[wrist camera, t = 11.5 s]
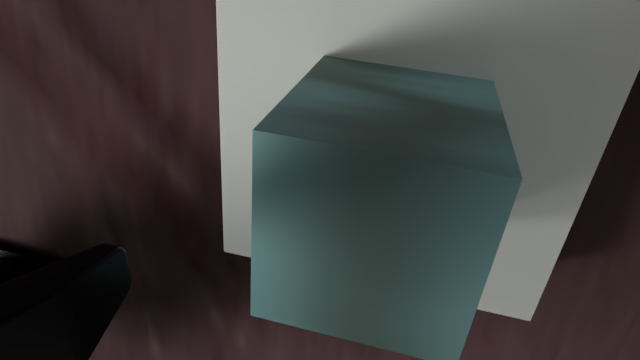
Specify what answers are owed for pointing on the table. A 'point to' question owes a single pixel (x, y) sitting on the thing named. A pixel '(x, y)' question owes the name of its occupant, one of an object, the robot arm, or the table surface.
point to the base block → (456, 59)
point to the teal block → (380, 205)
